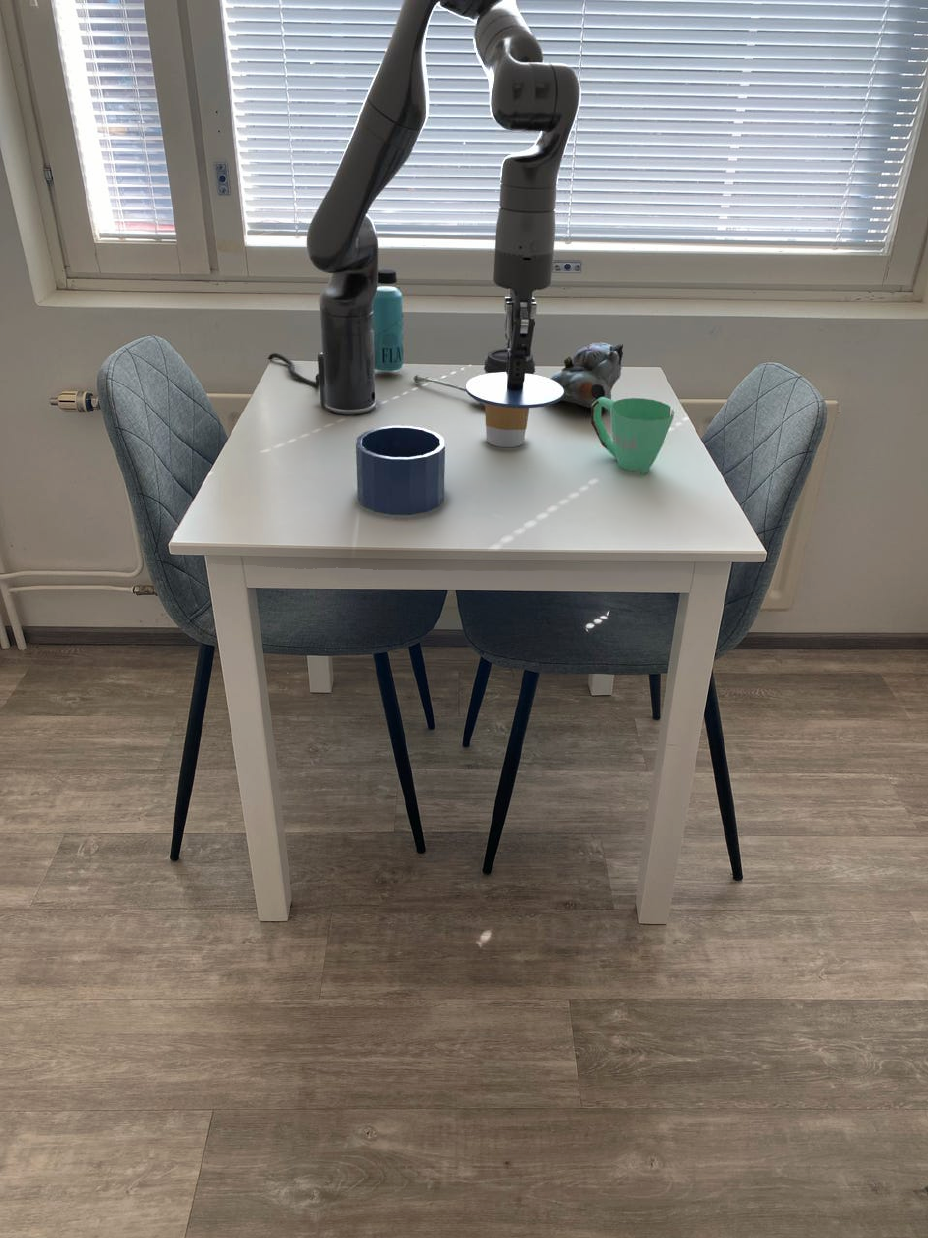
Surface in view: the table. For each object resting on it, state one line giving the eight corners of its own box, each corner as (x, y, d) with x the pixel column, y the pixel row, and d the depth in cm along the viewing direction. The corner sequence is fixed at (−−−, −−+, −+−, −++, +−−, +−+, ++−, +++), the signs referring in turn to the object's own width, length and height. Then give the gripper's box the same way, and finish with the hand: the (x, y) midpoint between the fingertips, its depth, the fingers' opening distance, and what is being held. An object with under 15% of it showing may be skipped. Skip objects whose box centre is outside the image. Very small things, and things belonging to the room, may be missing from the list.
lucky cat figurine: (533, 394, 173) (562, 325, 170) (587, 418, 176) (616, 350, 174) (555, 397, 159) (587, 322, 156) (613, 424, 162) (645, 350, 160)
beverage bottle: (379, 380, 178) (376, 274, 167) (366, 370, 183) (363, 267, 172) (409, 376, 180) (408, 272, 169) (395, 366, 185) (394, 265, 174)
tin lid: (468, 411, 119) (469, 367, 116) (463, 378, 130) (465, 337, 127) (569, 413, 120) (574, 370, 116) (556, 380, 131) (560, 339, 128)
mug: (676, 470, 145) (687, 410, 139) (638, 486, 139) (647, 424, 134) (607, 443, 154) (614, 386, 148) (568, 457, 148) (574, 398, 143)
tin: (356, 518, 127) (353, 458, 122) (360, 481, 137) (358, 425, 133) (444, 518, 128) (446, 459, 123) (442, 481, 138) (443, 426, 133)
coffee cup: (525, 455, 148) (532, 365, 140) (476, 449, 149) (480, 360, 141) (532, 437, 155) (539, 350, 147) (485, 432, 156) (489, 345, 148)
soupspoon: (493, 417, 164) (514, 410, 169) (495, 399, 162) (517, 392, 167) (405, 385, 175) (427, 379, 179) (406, 368, 173) (428, 362, 178)
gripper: (491, 234, 120) (484, 363, 129) (499, 256, 108) (491, 396, 118) (546, 236, 120) (536, 364, 130) (560, 258, 108) (548, 397, 118)
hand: (515, 379), depth 123 cm, fingers closed on tin lid, 2 cm apart
